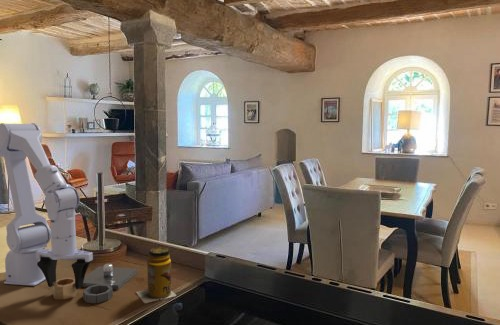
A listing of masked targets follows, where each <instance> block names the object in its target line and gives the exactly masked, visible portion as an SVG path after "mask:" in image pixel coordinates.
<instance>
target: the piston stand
mask: <svg viewBox="0 0 500 325" xmlns="http://www.w3.org/2000/svg"><path fill="white" fill-rule="evenodd" d="M137 273H138V268H129V267H116V266H115V267H114V265H113V263H105V264H103V266H102V265H100V266H98V267H96V268H94V270H92V271H91V272H89V273H87V274H85V277H84V281H83V286H82V287H81V288H88V287H89V286H93V285H98V284H106V285H110V286H111V287H112V288H113V290H117V291H119V290H120V289H121V288H122V287H123V286H124V285H126V283H128V282H129V281H130V280H131V279H132V278H133V277H134V276H135V275H137Z"/></svg>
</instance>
